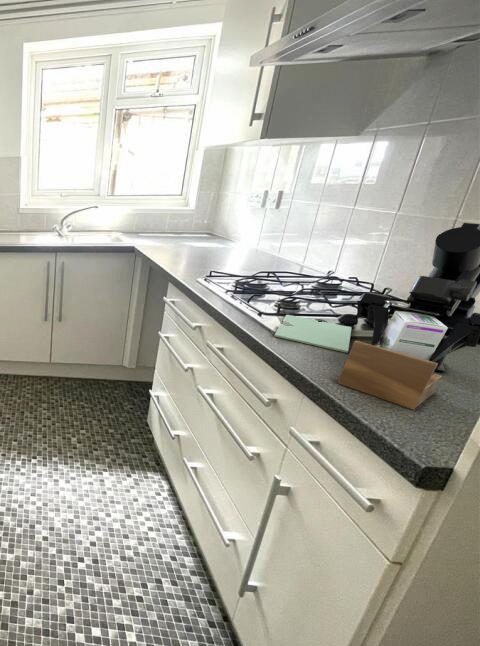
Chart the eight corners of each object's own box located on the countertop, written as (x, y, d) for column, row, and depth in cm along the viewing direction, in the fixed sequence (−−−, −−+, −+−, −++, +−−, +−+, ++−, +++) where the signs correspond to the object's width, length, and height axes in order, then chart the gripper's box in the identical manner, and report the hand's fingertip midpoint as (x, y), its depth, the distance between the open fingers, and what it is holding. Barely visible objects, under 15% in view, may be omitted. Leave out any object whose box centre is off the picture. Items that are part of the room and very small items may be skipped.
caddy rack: (358, 370, 87) (375, 330, 83) (432, 394, 78) (454, 351, 74) (337, 383, 82) (354, 341, 78) (413, 410, 73) (436, 364, 69)
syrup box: (409, 398, 77) (452, 327, 70) (368, 389, 79) (406, 320, 72) (397, 383, 81) (437, 315, 75) (359, 375, 84) (394, 309, 77)
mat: (285, 316, 117) (286, 314, 117) (350, 328, 108) (351, 327, 108) (274, 336, 103) (274, 334, 103) (347, 353, 95) (348, 351, 94)
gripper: (380, 250, 79) (335, 314, 78) (535, 271, 65) (483, 350, 64) (379, 285, 86) (338, 344, 85) (519, 310, 72) (472, 382, 70)
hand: (399, 353), depth 76 cm, fingers closed on syrup box, 7 cm apart
